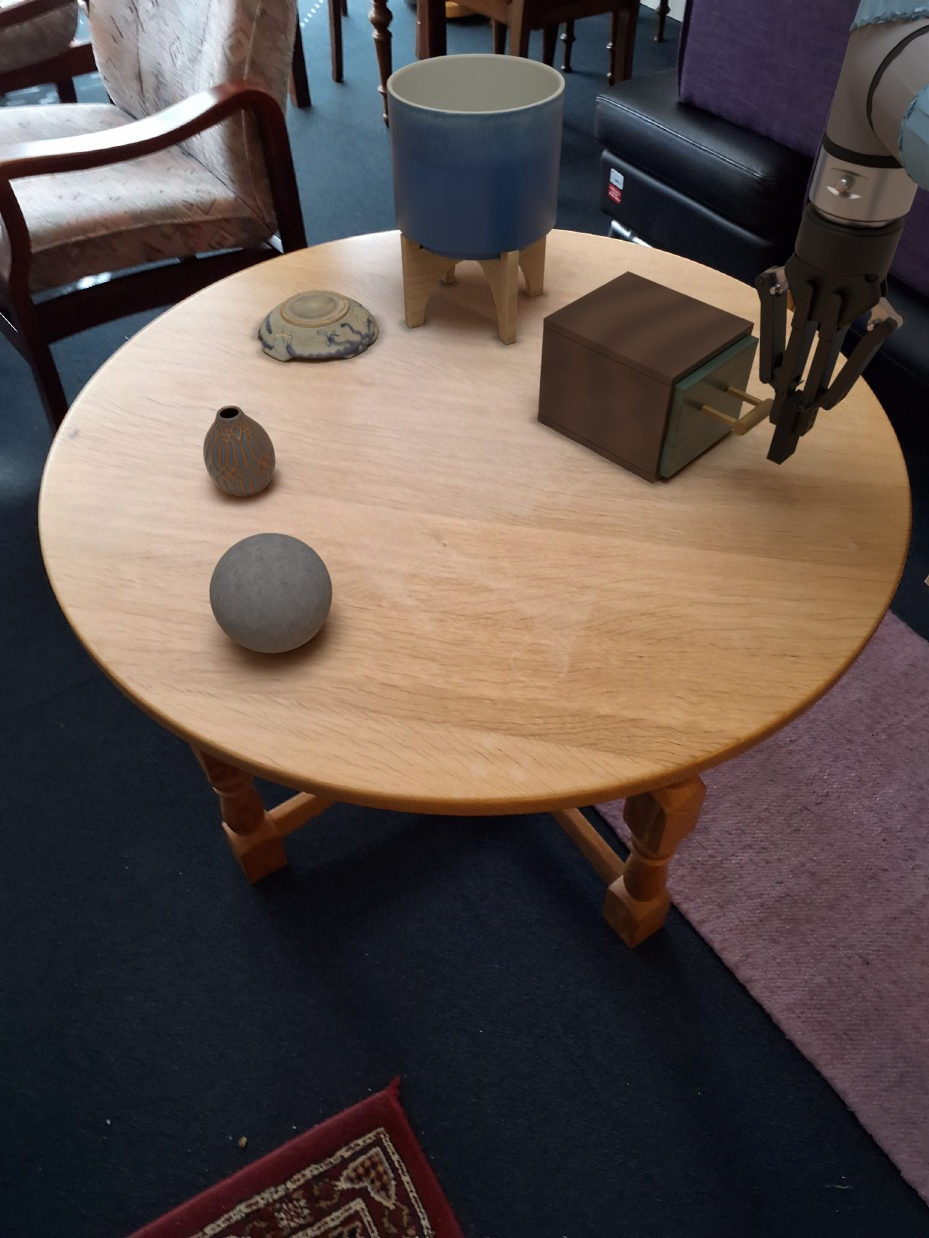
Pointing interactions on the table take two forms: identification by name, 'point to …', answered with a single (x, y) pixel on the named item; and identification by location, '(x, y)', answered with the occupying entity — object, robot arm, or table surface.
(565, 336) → the cabinet
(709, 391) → the drawer
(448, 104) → the planter
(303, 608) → the decorative ball
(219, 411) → the vase
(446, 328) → the table surface
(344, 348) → the decorative bowl
